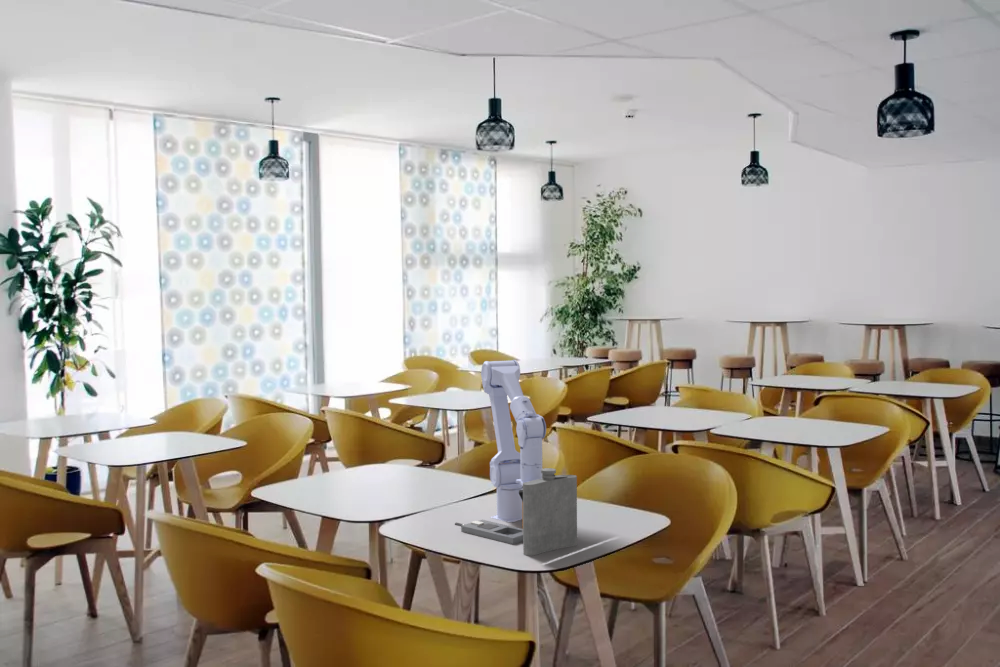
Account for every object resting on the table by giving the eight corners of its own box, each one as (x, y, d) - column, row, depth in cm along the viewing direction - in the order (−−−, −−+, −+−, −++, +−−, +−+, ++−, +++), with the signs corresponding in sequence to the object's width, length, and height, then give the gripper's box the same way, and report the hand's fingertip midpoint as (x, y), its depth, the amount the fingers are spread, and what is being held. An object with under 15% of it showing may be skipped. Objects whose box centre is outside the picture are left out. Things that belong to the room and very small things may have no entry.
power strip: (466, 523, 243) (466, 514, 243) (533, 539, 227) (533, 529, 227) (445, 529, 237) (445, 520, 237) (512, 546, 221) (512, 536, 221)
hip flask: (528, 558, 211) (528, 474, 210) (518, 554, 214) (517, 472, 213) (579, 546, 220) (579, 466, 219) (569, 543, 224) (568, 463, 223)
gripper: (519, 457, 240) (520, 507, 240) (512, 468, 225) (512, 521, 226) (546, 458, 238) (546, 508, 239) (539, 469, 224) (540, 522, 225)
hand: (531, 515), depth 233 cm, fingers closed on plug, 4 cm apart
